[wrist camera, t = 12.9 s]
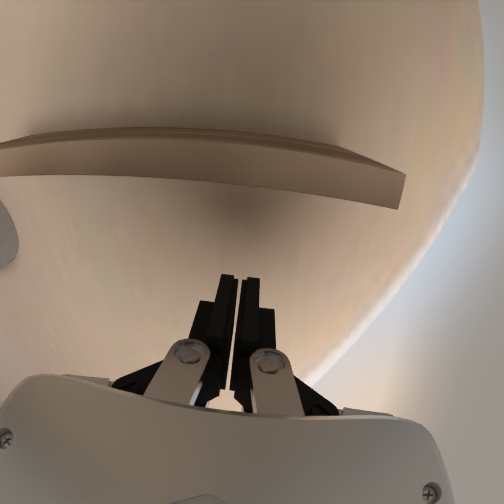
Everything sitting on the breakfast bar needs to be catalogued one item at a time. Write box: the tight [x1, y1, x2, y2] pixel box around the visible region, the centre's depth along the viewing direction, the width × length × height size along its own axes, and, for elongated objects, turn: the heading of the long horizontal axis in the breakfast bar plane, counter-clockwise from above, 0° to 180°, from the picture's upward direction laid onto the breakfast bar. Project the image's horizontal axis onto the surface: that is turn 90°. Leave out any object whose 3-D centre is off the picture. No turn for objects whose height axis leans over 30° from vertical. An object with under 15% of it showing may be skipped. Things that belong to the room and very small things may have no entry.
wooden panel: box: [0, 127, 406, 210], centre depth 15 cm, size 2×28×11 cm, turn 84°
